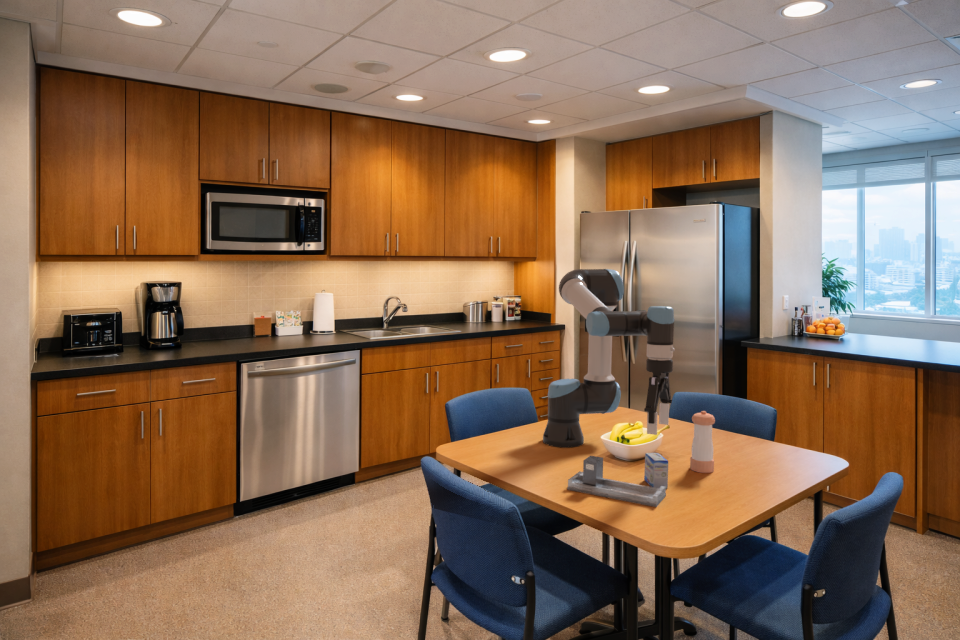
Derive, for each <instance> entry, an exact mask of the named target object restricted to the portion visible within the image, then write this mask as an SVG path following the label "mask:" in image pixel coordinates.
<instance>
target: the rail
mask: <svg viewBox="0 0 960 640" xmlns="http://www.w3.org/2000/svg"><path fill="white" fill-rule="evenodd" d="M582 468H583V469H582V470H583V471H581V470H580V471H578V472H577V473H575V474H574V475H573V476H571V477H570V478H569V479H568V480H567V487H566V488H567V491H573V492H576V493H577V492H578V493H583V494H586V495H594V496H598V497H603V498H608V499H613V500H617V501H623V502H627V503H628V502H629V503H631V504H632V503H633V504H638V505H644V506H647V507H653V508H657V507H658V506H659V505H660V504H661V502H662V501H663V500H664V499H665V497H666V496H667V492H666V490H667V489H666V487H664V486H661V487H660V488H655V487H651V486H650V485H649V486H648V485H644V484H638V483H632V482H627V481H621V480H617V479H616V480H615V479H609V478H604V457H601V456H595V455H589V456H588V457H586V458H585V459H583V467H582Z"/></svg>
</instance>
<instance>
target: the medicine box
mask: <svg viewBox="0 0 960 640" xmlns="http://www.w3.org/2000/svg"><path fill="white" fill-rule="evenodd" d="M643 478H644V481H645V482H646V483H647V484H648V485H649V487H655V488H660V487H661V486H664V487H666V490H667V489H668V485H669V484H668V483H669V460H667V459H666V458H665V457H664V456H663V455H661V454H660V453H659V452H646V453H645V455H644V477H643Z"/></svg>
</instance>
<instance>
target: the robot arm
mask: <svg viewBox="0 0 960 640" xmlns="http://www.w3.org/2000/svg"><path fill="white" fill-rule="evenodd" d="M624 287H625V286H624V281H623V277H622V276H621V274H620V272H619V271H617V270H615V269H610V268H597V269H596V268H587V269H585V268H577V269H573V270H570V271H568V272H567V273H565V275H563V276H562V278H561V279H560V281H559V283H558V293H559V296H560V298H561V299H562V300H563V301H564V302H565V303H567V304H568V305H571V306H573V307H574V308H575V310H576V311H578V313H580V315H581V316H582V317H583V318H584V319H585V327H586V330H587V333H588V353H587V354H588V357H587V364H588V365H587V373H586V374H585V375H583V382H581V381H580V380H579V379H576V378H561V379H557V380H554V381H551V382H550V384H549V385H548V389H547V390H548V392H547V424H546V426H545V429H544V432H543V434H542V442H543V444H545V445H548V446H550V447H555V448H575V447H580V445H581V446H583V445H584V442H585V441H584V439H585V438H584V434H583V431H582V427H581V424H580V415H590V414H591V415H592V414H593V415H594V414H601V415H603V414H604V415H605V414H609V413H610V414H611V413H613V412H615V411H617V409H618V408H619V405H620V402H621V397H622V396H621V394H622V391H621V386H620V384H619V382H617V381H616V378H615V377H614V375H613V374H612V354H613V353H612V351H613V350H612V349H613V337H617V336H625V337H627V336H645V337H646V355H645V356H646V357H647V359H646V369H645V370H646V371H647V372H649V373H652V376H649V377H648V386H647V387H648V389H647V396H646V400H645V401H646V402H645V407H644V412H646V414H647V417H646V418H647V419H646V421H647V422H646V434H647V435H655V436H656V435H658V424H659V425H665V426H669V422H670V421H669V420H670V419H669V418H670V416H669V415H670V404H672V401H673V399H672V396H671V387H670V386H671V385H670V373H672V372H673V369H674V368H673V367H674V360H673V359H672V358H674V357H673V356H674V352H675V351H676V349H675V347H674V334H675V330H674V329H675V315H674V314H675V311H674V308H673V307H672V306H668V305H667V306H665V305H651V306H649V307H648V308H647V310H636V311H635V310H634V311H633V310H631V311H627V310H626V311H623V310H622V311H621V310H620V311H619V310H615V309H616V308H617V307H618V302H619V301H621V300H622V299H623V298H624V294H625V293H624V292H625V288H624ZM614 310H615V311H614ZM659 400H660V401H659ZM658 405H659V410H658ZM657 410H658V411H657ZM658 413H659V415H658Z"/></svg>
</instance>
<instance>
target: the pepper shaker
mask: <svg viewBox="0 0 960 640" xmlns="http://www.w3.org/2000/svg"><path fill="white" fill-rule="evenodd" d="M691 420H692V423H693V424H694V425H693V428H694V429H693V439H692V444H691V456H690V458H689V461H690V463H689V464H690V465H689V469H690V470H691V471H693V472H697V473H701V474H702V473H703V474H709V473H710V474H711V473H713V472H714V470H715V459H714V445H713V444H714V443H713V425H714V424H715V423H716V418H715V416H714V415H713V414H712V413H711V414H710V413H707V411H706V410H701V411H700V412H696V413H694V414H693V415H692V417H691Z"/></svg>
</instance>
